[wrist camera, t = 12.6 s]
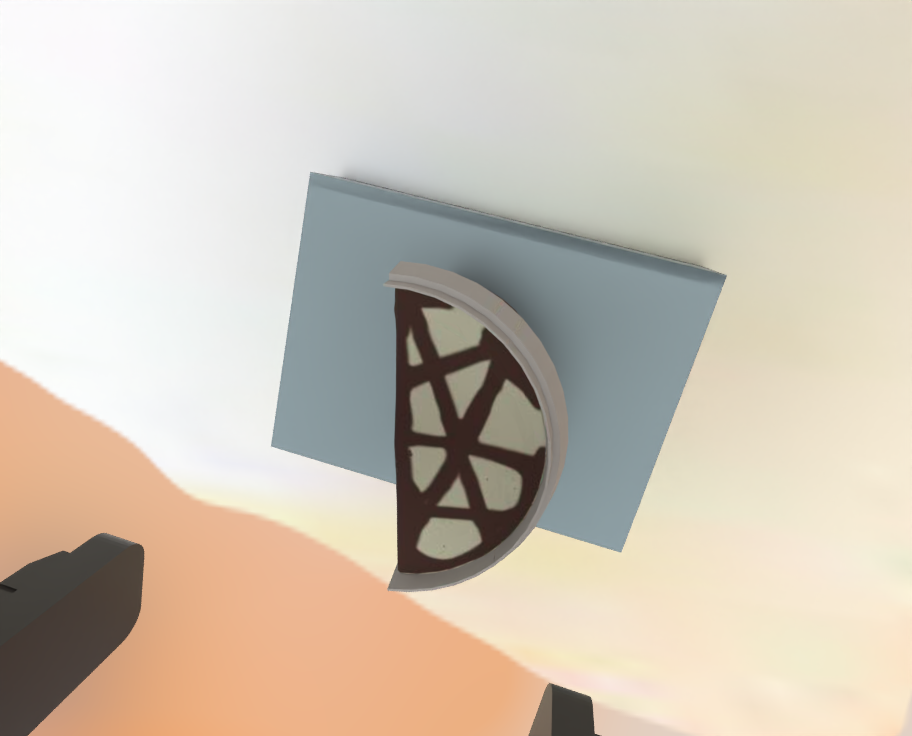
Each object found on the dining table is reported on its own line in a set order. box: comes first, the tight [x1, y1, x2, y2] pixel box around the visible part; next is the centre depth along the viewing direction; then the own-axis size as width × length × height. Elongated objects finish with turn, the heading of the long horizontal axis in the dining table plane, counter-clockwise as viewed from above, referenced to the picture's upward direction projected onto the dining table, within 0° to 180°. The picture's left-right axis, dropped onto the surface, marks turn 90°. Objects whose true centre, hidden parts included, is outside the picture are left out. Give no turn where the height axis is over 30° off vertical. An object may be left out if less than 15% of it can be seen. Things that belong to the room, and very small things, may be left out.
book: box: [271, 172, 727, 552], centre depth 30 cm, size 20×15×4 cm
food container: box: [383, 261, 568, 592], centre depth 23 cm, size 12×6×10 cm, turn 179°
